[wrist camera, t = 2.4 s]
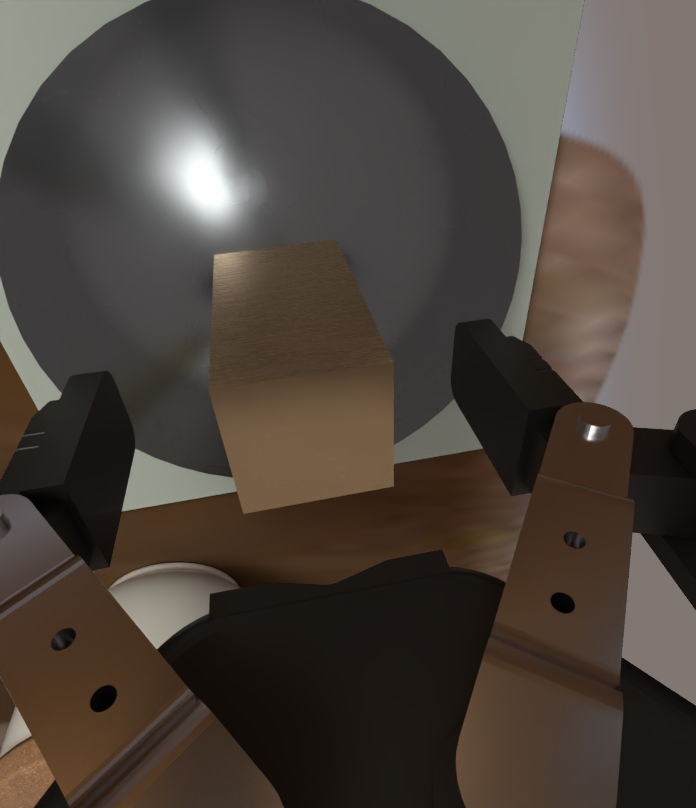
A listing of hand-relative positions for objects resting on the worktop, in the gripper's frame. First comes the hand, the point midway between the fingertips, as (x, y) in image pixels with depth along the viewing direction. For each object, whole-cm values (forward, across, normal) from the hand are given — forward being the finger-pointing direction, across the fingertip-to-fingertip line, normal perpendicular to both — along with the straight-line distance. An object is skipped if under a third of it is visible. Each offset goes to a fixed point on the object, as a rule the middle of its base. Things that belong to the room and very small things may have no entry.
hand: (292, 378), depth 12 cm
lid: (+4, 0, 0) cm, 4 cm away
